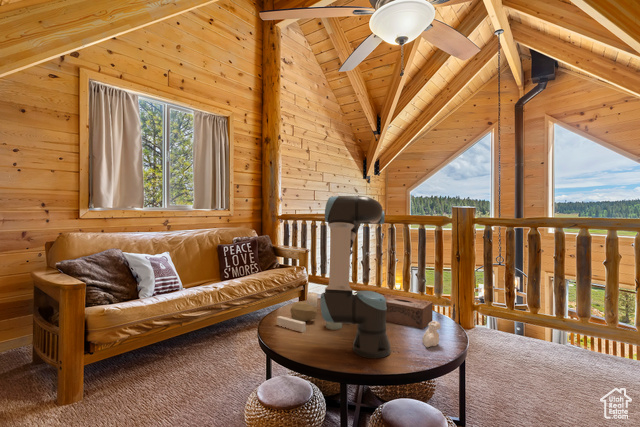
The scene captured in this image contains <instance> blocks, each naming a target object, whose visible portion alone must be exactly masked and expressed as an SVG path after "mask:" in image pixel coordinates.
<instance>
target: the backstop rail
mask: <svg viewBox="0 0 640 427" xmlns="http://www.w3.org/2000/svg"><path fill="white" fill-rule="evenodd" d="M306 322H307V321H305V322H302V321H298V320H294V319H292V318H291V317H290V318H289V317H285V316H283V315H282V316H281V315H279V316H277V317H276V326H277V325H279V326H278V327H281V326H282V328H285V327H286V329H288V328H289V330H293V331H297V332H300V333H305V332H306V325H307V324H306Z"/></svg>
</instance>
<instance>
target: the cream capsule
mask: <svg viewBox="0 0 640 427" xmlns="http://www.w3.org/2000/svg"><path fill="white" fill-rule="evenodd" d="M306 297H307V298H306V301H307V302H306V304H309V305H312V306H314V307H315V308H316V306H317V307H318V293H317V292H308V293H307V295H306Z"/></svg>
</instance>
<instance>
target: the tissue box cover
mask: <svg viewBox="0 0 640 427" xmlns="http://www.w3.org/2000/svg"><path fill="white" fill-rule="evenodd" d="M382 295H383V294H382ZM383 296H384V297H385V299H386V307H387V310H386V322H390V323H393V324H394V323H395V324H398V323H399V325H402V326H403V325H404V326H407V325H408V326H407V327H413V328H417V329H420V328H421V330H424V329H425V328H427V326H428V324H429V323H430V322H431V321H433V311H434V310H433V309H434V308H433V306H434V305H433V301H431V300H429V301H428V300H424V299H418V298H412V297H406V296H401V295H395V294H389V293H386V294H384V295H383ZM424 327H425V328H424ZM423 328H424V329H423Z"/></svg>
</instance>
